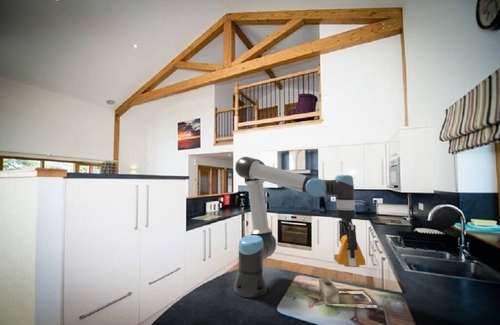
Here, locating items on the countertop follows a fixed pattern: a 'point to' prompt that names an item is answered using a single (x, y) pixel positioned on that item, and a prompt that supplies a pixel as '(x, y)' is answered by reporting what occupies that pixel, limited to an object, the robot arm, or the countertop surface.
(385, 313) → the countertop surface
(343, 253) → the bracket
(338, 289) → the seat holder
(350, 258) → the robot arm
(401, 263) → the countertop surface
